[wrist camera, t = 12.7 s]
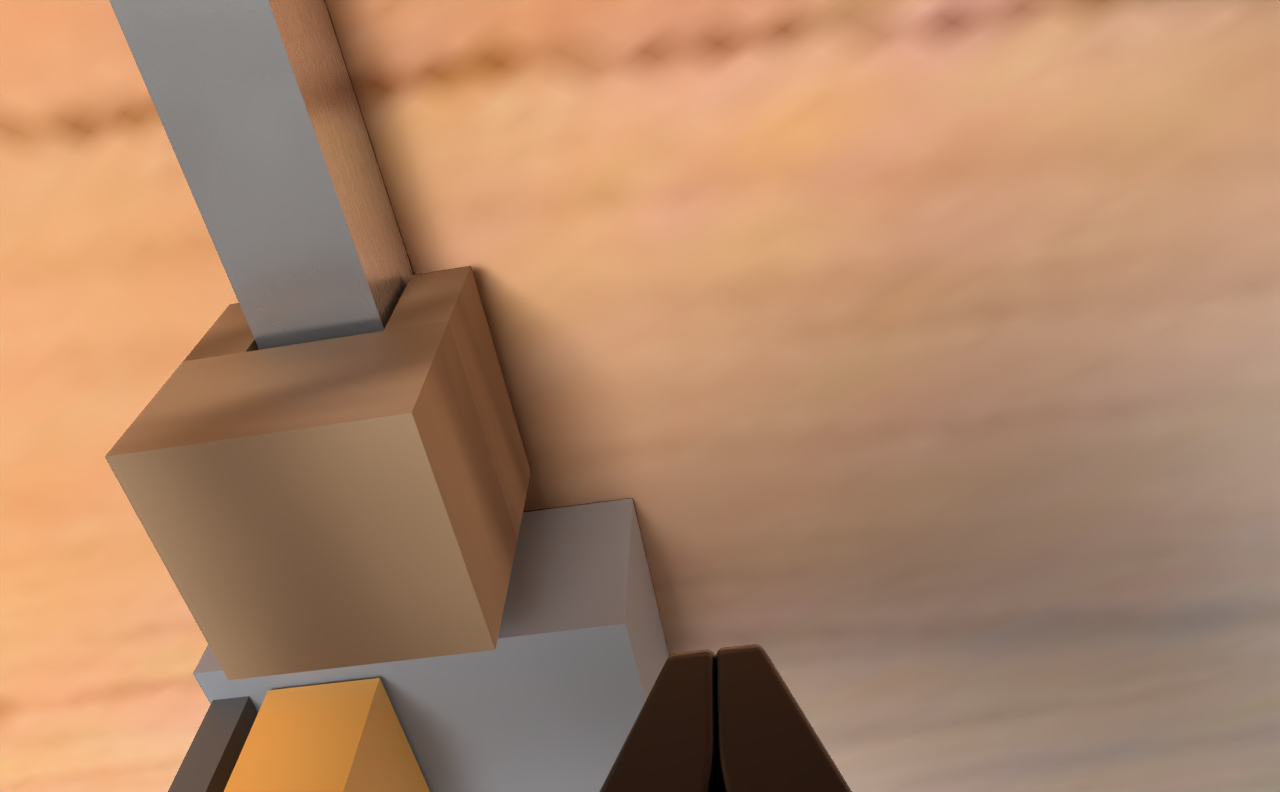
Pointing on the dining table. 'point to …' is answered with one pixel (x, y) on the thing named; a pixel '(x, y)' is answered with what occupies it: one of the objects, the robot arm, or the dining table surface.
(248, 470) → the block
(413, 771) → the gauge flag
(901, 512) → the dining table surface
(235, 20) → the rail
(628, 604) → the end cabinet
